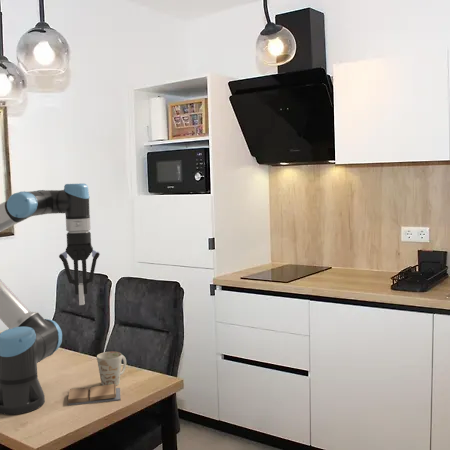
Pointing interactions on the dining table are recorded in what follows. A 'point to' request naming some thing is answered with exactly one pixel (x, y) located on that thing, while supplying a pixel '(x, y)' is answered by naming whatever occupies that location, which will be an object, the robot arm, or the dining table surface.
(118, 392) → the underlay
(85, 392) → the laid plank
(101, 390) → the plank
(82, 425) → the dining table surface
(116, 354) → the mug
